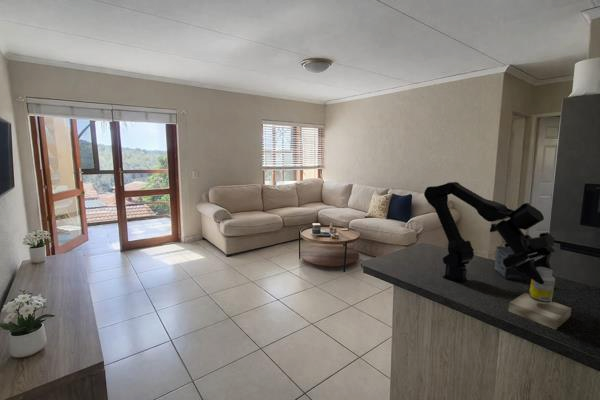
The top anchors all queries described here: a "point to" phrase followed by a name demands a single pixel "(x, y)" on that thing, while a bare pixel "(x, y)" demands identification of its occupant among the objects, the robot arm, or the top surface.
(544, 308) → the birch base block
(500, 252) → the small box
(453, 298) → the top surface
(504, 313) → the top surface
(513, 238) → the robot arm
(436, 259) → the top surface
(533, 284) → the supplement bottle
